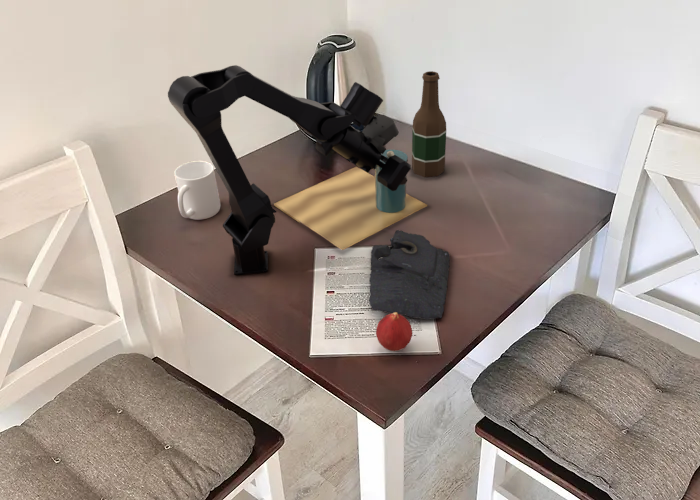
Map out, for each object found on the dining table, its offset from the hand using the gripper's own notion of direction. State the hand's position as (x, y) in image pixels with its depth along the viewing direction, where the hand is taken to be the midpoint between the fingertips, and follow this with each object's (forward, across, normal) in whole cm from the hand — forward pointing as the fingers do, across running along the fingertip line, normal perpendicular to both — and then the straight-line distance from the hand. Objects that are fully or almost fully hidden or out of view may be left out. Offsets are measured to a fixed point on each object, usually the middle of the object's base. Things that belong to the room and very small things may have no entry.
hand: (395, 175), depth 140 cm
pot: (+4, 0, +6) cm, 7 cm away
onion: (-14, -35, +24) cm, 45 cm away
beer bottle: (+16, +7, -5) cm, 18 cm away
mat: (-1, +6, +11) cm, 12 cm away
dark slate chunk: (-5, -22, +16) cm, 28 cm away
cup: (-20, +23, +31) cm, 44 cm away
